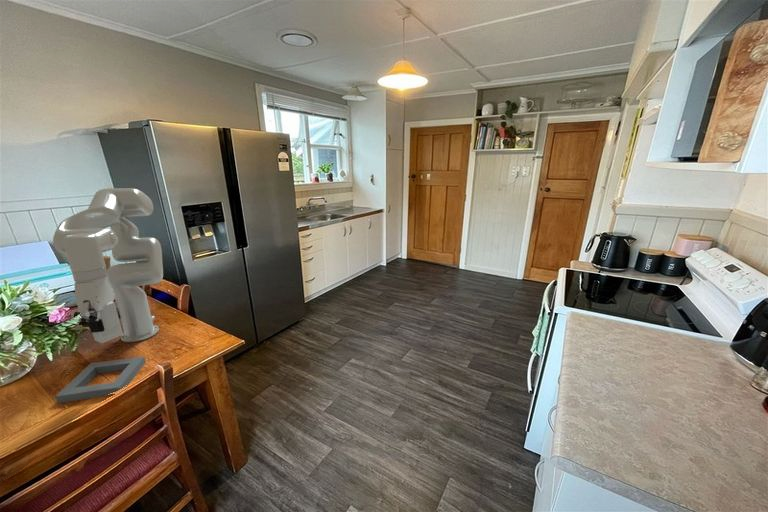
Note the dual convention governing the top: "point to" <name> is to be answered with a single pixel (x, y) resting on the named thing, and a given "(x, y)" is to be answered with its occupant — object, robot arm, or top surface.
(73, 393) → the socket block
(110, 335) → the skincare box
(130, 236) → the robot arm
